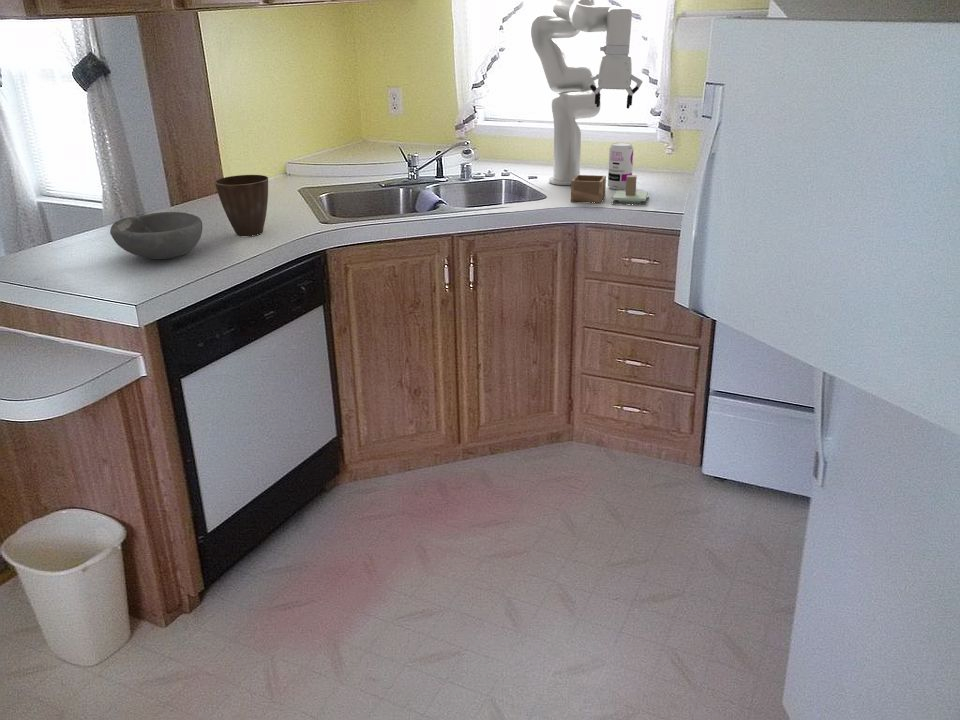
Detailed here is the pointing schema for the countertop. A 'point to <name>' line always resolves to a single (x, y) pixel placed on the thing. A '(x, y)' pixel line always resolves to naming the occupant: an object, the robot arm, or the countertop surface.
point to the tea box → (588, 188)
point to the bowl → (158, 234)
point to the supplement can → (619, 165)
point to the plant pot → (244, 202)
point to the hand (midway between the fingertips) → (612, 107)
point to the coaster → (631, 202)
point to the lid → (630, 192)
